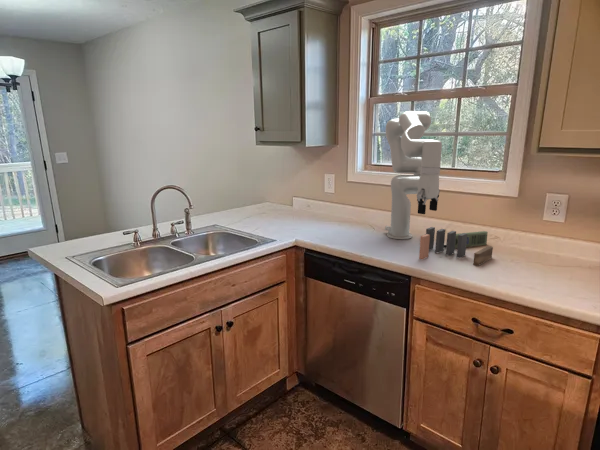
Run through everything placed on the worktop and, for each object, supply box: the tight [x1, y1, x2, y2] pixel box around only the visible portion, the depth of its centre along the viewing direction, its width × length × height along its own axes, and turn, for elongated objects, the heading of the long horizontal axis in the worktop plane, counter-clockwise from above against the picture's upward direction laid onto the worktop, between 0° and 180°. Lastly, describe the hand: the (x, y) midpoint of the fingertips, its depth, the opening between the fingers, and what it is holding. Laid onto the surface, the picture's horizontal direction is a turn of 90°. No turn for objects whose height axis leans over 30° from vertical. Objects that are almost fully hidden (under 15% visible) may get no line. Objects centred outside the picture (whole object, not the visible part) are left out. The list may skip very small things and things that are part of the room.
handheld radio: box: [444, 230, 488, 249], centre depth 184 cm, size 7×3×25 cm
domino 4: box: [445, 230, 457, 256], centre depth 173 cm, size 2×5×10 cm, turn 134°
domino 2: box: [425, 226, 436, 251], centre depth 180 cm, size 2×5×10 cm, turn 134°
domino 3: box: [434, 228, 446, 254], centre depth 177 cm, size 2×5×10 cm, turn 134°
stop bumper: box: [472, 245, 494, 267], centre depth 164 cm, size 2×14×5 cm, turn 134°
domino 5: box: [456, 232, 468, 259], centre depth 170 cm, size 2×5×10 cm, turn 134°
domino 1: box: [418, 233, 430, 260], centre depth 168 cm, size 2×5×10 cm, turn 134°
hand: (427, 212), depth 164 cm, fingers open, 9 cm apart
